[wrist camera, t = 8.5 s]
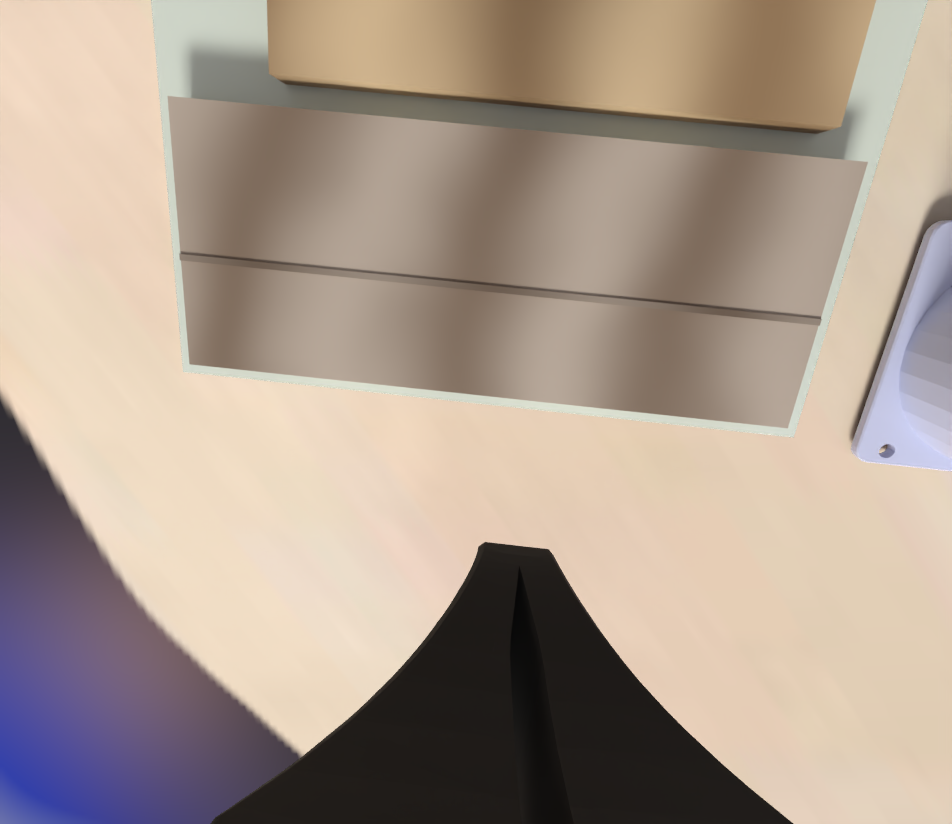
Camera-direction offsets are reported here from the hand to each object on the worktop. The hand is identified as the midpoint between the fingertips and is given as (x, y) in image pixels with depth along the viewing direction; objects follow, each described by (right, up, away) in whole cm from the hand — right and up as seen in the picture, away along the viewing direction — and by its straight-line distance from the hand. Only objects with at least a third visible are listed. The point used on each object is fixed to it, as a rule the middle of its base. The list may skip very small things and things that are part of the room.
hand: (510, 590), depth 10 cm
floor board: (0, +8, +7) cm, 11 cm away
